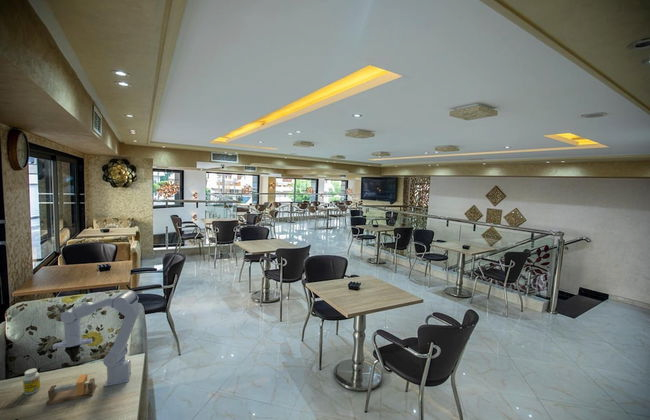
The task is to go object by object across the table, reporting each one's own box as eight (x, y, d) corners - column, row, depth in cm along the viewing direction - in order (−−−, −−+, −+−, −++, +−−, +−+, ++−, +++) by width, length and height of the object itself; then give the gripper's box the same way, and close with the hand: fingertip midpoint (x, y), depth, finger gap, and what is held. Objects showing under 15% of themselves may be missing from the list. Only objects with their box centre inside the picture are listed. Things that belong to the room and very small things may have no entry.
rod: (94, 383, 139) (94, 378, 139) (92, 386, 137) (92, 381, 137) (51, 391, 133) (50, 386, 133) (49, 394, 131) (48, 390, 131)
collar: (87, 385, 140) (87, 373, 139) (83, 394, 135) (82, 382, 134) (81, 387, 139) (80, 375, 139) (76, 395, 134) (76, 383, 133)
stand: (96, 385, 142) (96, 375, 141) (92, 396, 136) (91, 385, 135) (53, 394, 136) (52, 383, 135) (46, 405, 129) (45, 394, 129)
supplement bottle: (41, 385, 141) (40, 365, 140) (38, 392, 137) (37, 372, 135) (25, 389, 138) (24, 369, 137) (22, 396, 134) (21, 376, 132)
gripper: (93, 326, 149) (94, 352, 150) (56, 331, 143) (58, 358, 145) (89, 333, 143) (90, 360, 144) (50, 339, 137) (51, 366, 138)
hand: (73, 360), depth 144 cm, fingers closed
